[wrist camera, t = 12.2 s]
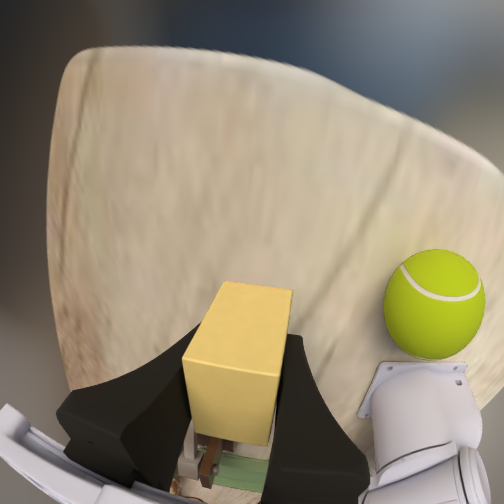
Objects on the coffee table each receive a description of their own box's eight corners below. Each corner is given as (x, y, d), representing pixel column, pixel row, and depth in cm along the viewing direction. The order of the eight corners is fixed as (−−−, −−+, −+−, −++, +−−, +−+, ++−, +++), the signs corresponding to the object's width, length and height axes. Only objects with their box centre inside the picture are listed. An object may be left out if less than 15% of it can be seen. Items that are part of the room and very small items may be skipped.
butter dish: (280, 462, 33) (278, 474, 31) (274, 484, 36) (272, 494, 35) (199, 447, 34) (195, 458, 32) (204, 471, 38) (201, 481, 36)
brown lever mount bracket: (174, 397, 30) (147, 451, 23) (235, 411, 29) (216, 471, 22) (183, 432, 33) (162, 479, 26) (235, 444, 32) (220, 495, 25)
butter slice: (293, 289, 13) (280, 375, 8) (282, 364, 14) (267, 447, 10) (223, 280, 13) (180, 357, 9) (224, 355, 15) (193, 433, 10)
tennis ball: (378, 234, 19) (406, 287, 12) (466, 232, 17) (516, 278, 11) (371, 320, 21) (385, 388, 15) (450, 314, 20) (481, 374, 14)
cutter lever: (179, 367, 26) (165, 384, 23) (212, 374, 25) (201, 392, 22) (182, 458, 28) (173, 476, 24) (209, 465, 27) (201, 484, 24)
